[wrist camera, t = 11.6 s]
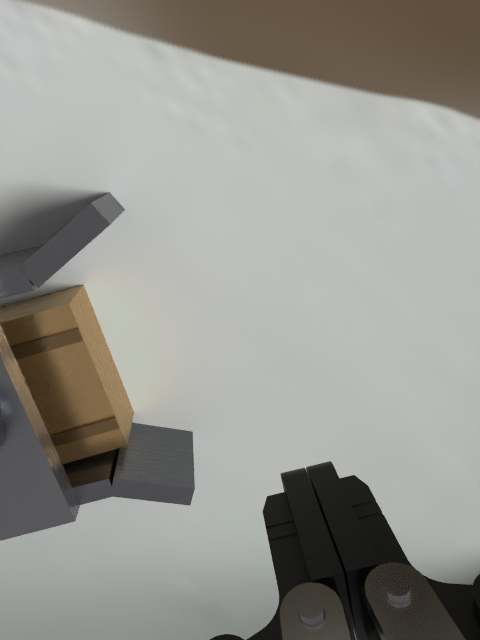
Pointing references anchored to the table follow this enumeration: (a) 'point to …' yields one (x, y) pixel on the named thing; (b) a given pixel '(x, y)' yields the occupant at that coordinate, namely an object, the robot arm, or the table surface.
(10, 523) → the coupler dock
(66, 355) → the block
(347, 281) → the table surface
